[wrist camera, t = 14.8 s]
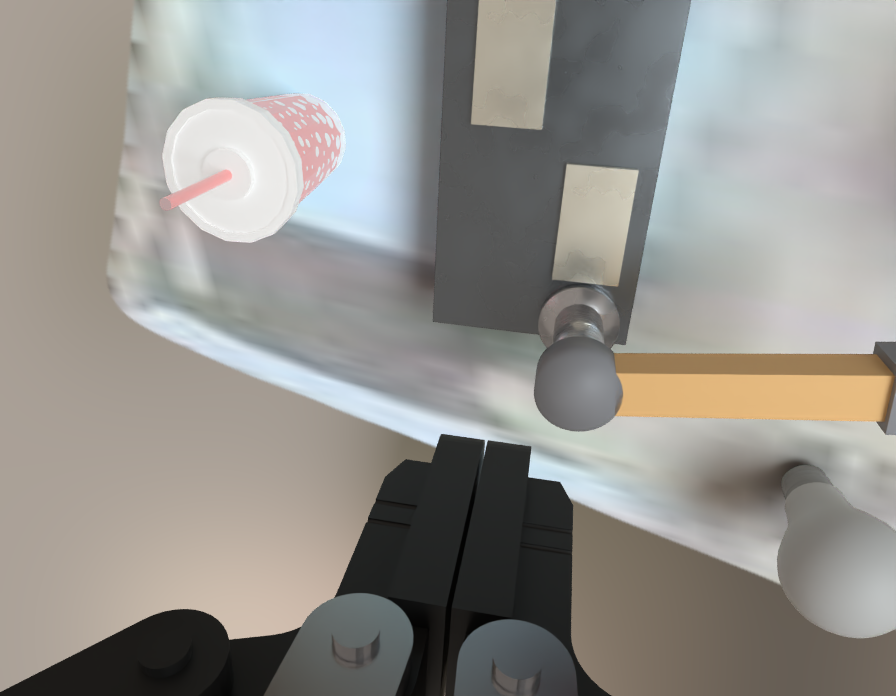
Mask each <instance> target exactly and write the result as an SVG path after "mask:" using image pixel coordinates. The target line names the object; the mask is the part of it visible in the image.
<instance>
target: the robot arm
mask: <svg viewBox="0 0 896 696" xmlns="http://www.w3.org/2000/svg"><path fill="white" fill-rule="evenodd" d="M484 448H485V440H481V439H474V438H467V437H460V436H453V435H446V434H441V436H440V438H439V441H438V444H437V447H436V451H435V453H434V456H433V459H432V462H431V463H427V462H420V461H413V460H407V459H406V460H404V461H403V462H402V463H401V464H400V465H398V466H397V467H396V468H395V469H394V470H393V471H391V472H390V473H389V474H388V475H387V476H386V477H385V479H384V481H383V483H382V486H381V488H380V491H379V493H378V495H377V498H376V502H375V504H374V505H373V507H372V510H371V512H370V515H369V517H368V522H367V523H366V524H365V527H364V529H363V531H362V534H361V536H360V539H359V541H358V544H357V546H356V548H355V551H354V553H353V555H352V558H351V560H350V563H349V565H348V567H347V570H346V572H345V575H344V577H343V579H342V582H341V584H340V587H339V589H338V591H337V594H336V595H335V597H334V598H333V599H331V600H328V601H327V602H325V603H323V604H322V605H320V606H319V607H317V608H316V609H315V610H314V611H313V612H312V613H311V614H310V615H309V616H308V617H307V619H306V620H305V622H304V623H303V625H302V627H300V628H297V629H295V630H292V631H289V632H286V633H282V634H276V635H270V636H260V637H251V638H242V639H233V640H229V638H228V634H227V632H226V630H225V628H224V626H223V625H222V624H221V623H220V622H219V621H218V620H217V619H216V618H214V617H213V616H211V615H209V614H207V613H204V612H201V611H197V610H189V609H180V610H171V611H165V612H162V613H159V614H155V615H153V616H150V617H148V618H146V619H144V620H142V621H140V622H138V623H136V624H134V625H132V626H130V627H128V628H126V629H124V630H122V631H120V632H118V633H116V634H114V635H112V636H110V637H108V638H106V639H104V640H102V641H100V642H98V643H96V644H94V645H92V646H91V647H88V648H87V649H84V650H82V651H81V652H79V653H77V654H75V655H73V656H71V657H69V658H67V659H65V660H63V661H61V662H59V663H57V664H55V665H53V666H51V667H49V668H47V669H45V670H43V671H41V672H39V673H37V674H35V675H33V676H31V677H29V678H27V679H25V680H23V681H21V682H19V683H18V684H15V685H14V686H12V687H10V688H8V689H6V690H4V691H2V692H0V696H444V695H445V696H611V695H609V694H608V693H607V692H605V691H604V690H603V689H601V688H600V687H599V686H598V685H597V684H596V683H595V682H594V681H592V680H591V679H590V677H589V676H588V675H587V674H586V673H585V671H584V670H583V668H582V667H581V665H580V664H579V662H578V660H577V658H576V656H575V653H574V650H573V646H572V642H571V596H572V592H571V591H572V530H573V504H572V503H571V501H570V499H569V497H568V495H567V494H566V492H565V490H564V488H563V486H562V485H561V483H560V482H556V481H549V480H543V479H536V478H529V477H528V472H529V463H530V454H531V446H524V445H517V444H510V443H503V442H496V441H489V440H488V442H487V446H486V451H485V456H484ZM445 690H446V691H445Z"/></svg>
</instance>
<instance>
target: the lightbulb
mask: <svg viewBox="0 0 896 696" xmlns="http://www.w3.org/2000/svg"><path fill="white" fill-rule="evenodd" d="M781 487H782V491H783V494H784V497H785V500H786V501H785V512H786V516H787V519H788V528H787V530H786V532H785V534H784V537H783V539H782V542H781V545H780V547H779V550H778V557H777V569H778V576H779V580H780V583H781V585H782V588H783V590H784V592H785V594H786V596H787V597H788V598H789V600H790V602H791V603H792V604H793V605H794V607H795V608H796V609H797V610H798V611H799V612H800V613H801V614H802V615H803V616H804V617H805V618H806V619H808V620H809V621H810V622H812V623H813V624H815V625H817V626H819V627H821V628H822V629H824V630H826V631H829V632H832V633H835V634H838V635H841V636H845V637H850V638H870V637H874V636H879V635H882V634H885V633H888V632H890V631H892V630H894V629H896V531H895V530H894V529H893V528H891V527H890V526H889V525H888V524H887V523H885V522H883V521H881V520H880V519H878V518H876V517H874V516H872V515H870V514H868V513H866V512H864V511H861V510H858V509H856V508H854V507H853V506H852V505H851V504H850V503H849V502H848V501H847V500H846V498H845V497H844V495H843V494H842V493H841V492H840V491H839V490H838V489H837V488H836V487H834V486H833V484H832V483H831V481H830V480H829V478H828V477H827V476H826V474H825V473H824V472H823V471H822V470H821V469H819V468H818V467H815V466H811V465H800V466H796V467H794V468H792V469H790V470H789V471H788V472H786V473H785V475H784V476H783V478H782V481H781Z"/></svg>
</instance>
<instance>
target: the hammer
mask: <svg viewBox="0 0 896 696" xmlns="http://www.w3.org/2000/svg"><path fill="white" fill-rule="evenodd" d="M534 398H535V402H536V405H537V408H538V409H539V411H540V413H541V414H542V415H543V416H544V417H545V418H546V419H547V420H548V421H549V422H551V423H552V424H554V425H555V426H557V427H560V428H562V429H565V430H570V431H589V430H593V429H596V428H599V427H601V426H603V425H605V424H606V423H608V422H609V421H610V420H611V419H612V418H613V417H614V416H637V417H686V418H734V419H782V420H831V421H876V422H877V423H878V425H879V426H880V428H881V429H882V430H883V432H884V433H885V435H896V342H875V347H874V352H873V354H668V353H613V351H612V350H611V349H610V348H609V347H608V346H606V345H605V344H603V343H602V342H600V341H598V340H595V339H592V338H589V337H582V336H575V337H568V338H564V339H561V340H559V341H557V342H555V343H553V344H552V345H550V346H549V347H548V348H547V349H546V350H545V351H544V352H543V354H542V355H541V357H540V359H539V362H538V365H537V370H536V379H535V387H534Z"/></svg>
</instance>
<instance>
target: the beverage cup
mask: <svg viewBox="0 0 896 696" xmlns="http://www.w3.org/2000/svg"><path fill="white" fill-rule="evenodd" d="M345 149H346V145H345V130H344V128H343V126H342V123H341V121H340V119H339V117H338V114H337V113H336V112H335V111H334V110H333V109H332V108H331V107H330V106H329V105H328V104H327V103H326V102H325V101H323V100H321V99H319V98H317V97H315V96H313V95H311V94H297V93H293V94H285V95H277V96H270V97H262V98H254V99H247V100H244V99H242V98H221V97H215V98H207V99H204V100H202V101H200V102H198V103H196V104H194V105H192V106H189V107H187V108H185V109H183V110H182V111H181V112H180V114H179V115H178V116H177V118H176V119H175V120H174V122H173V123H172V124H171V126H170V127H169V128H168V130H167V134H166V139H165V144H164V149H163V154H162V160H163V165H164V171H165V177H166V182H167V185H168V187H169V189H170V191H171V193H172V194H170V195H168V196H166V197H164V198H162V199H161V200H160V202H159V204H160V207H161V208H162V209H163V210H165V211H168V210H171V209H173V208H175V207H177V206H179V208H180V209H181V210H182V211H183V212H184V213H185V214H186V215H187V216H188V217H189V218H190V219H191V220H192V221H193V222H194V223H195V224H196V225H197V226H198V227H199V228H200V229H201V230H204V231H206V232H208V233H210V234H212V235H214V236H216V237H219V238H221V239H223V240H225V241H234V242H248V243H251V242H254V241H257V240H260V239H262V238H265V237H268V236H270V235H273V234H275V233H276V232H277V231H278V230H279V229H280V228H281V227H282V226H283V225H284V224H285V223H286V222H287V221H288V220H289V218H290V217H291V216H292V215H293V214H294V213H295V212H296V210H297V207H298V204H299V203H300V202H301V201H302V200H303V199H304V198H305V197H306V196H308V195H309V194H310V193H311V192H312V191H313V190H314V189H315V188H316V187H317V186H318V185H319V184H321V183H322V182H323V181H324V180H325V179H326V178H327V177H328V176H329V175H330V174H331V173H332V172H333V171H334V170H335V169H336V168H337V167H338V166H339V165H340V163H341V161H342V158H343V155H344V152H345Z"/></svg>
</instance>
